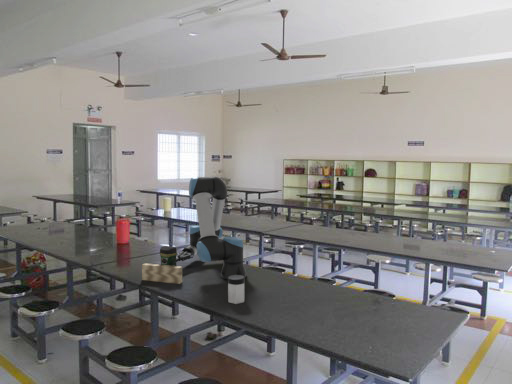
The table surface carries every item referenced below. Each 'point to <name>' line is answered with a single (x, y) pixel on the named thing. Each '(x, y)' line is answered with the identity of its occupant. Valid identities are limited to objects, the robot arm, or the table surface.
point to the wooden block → (162, 273)
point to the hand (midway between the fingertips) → (171, 261)
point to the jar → (236, 289)
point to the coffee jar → (168, 255)
